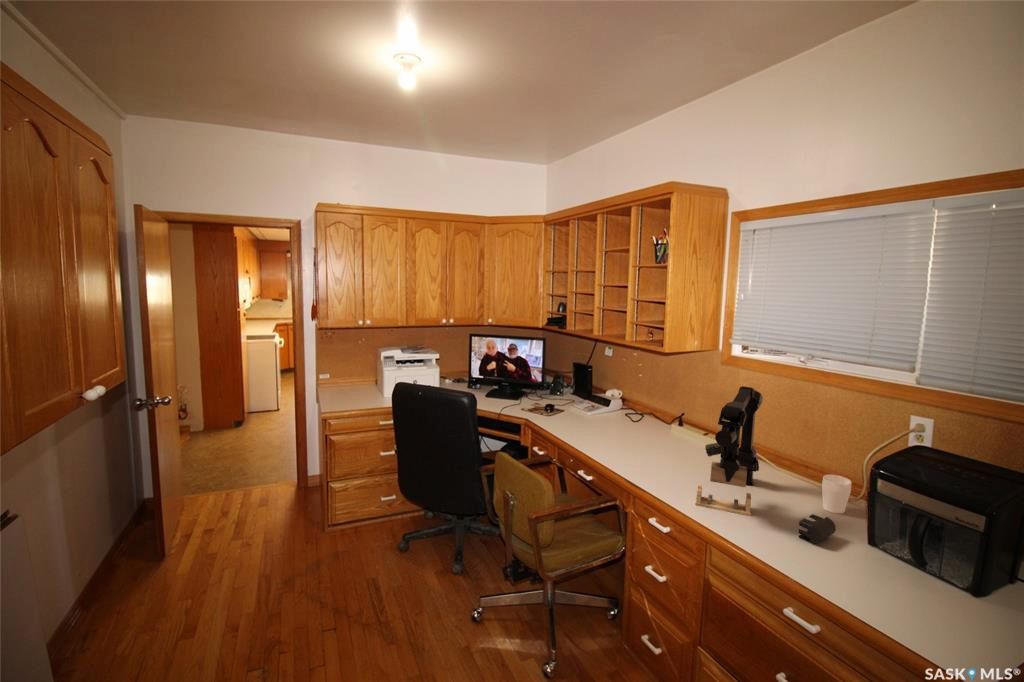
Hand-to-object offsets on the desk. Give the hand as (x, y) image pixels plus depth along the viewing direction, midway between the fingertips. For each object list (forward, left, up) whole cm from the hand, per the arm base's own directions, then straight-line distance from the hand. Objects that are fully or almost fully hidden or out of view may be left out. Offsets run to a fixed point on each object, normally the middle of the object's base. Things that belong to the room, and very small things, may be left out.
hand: (727, 478), depth 181 cm
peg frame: (0, -1, -11) cm, 11 cm away
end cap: (+10, +28, -12) cm, 32 cm away
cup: (-16, +37, -11) cm, 42 cm away
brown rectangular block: (0, 0, -1) cm, 1 cm away
